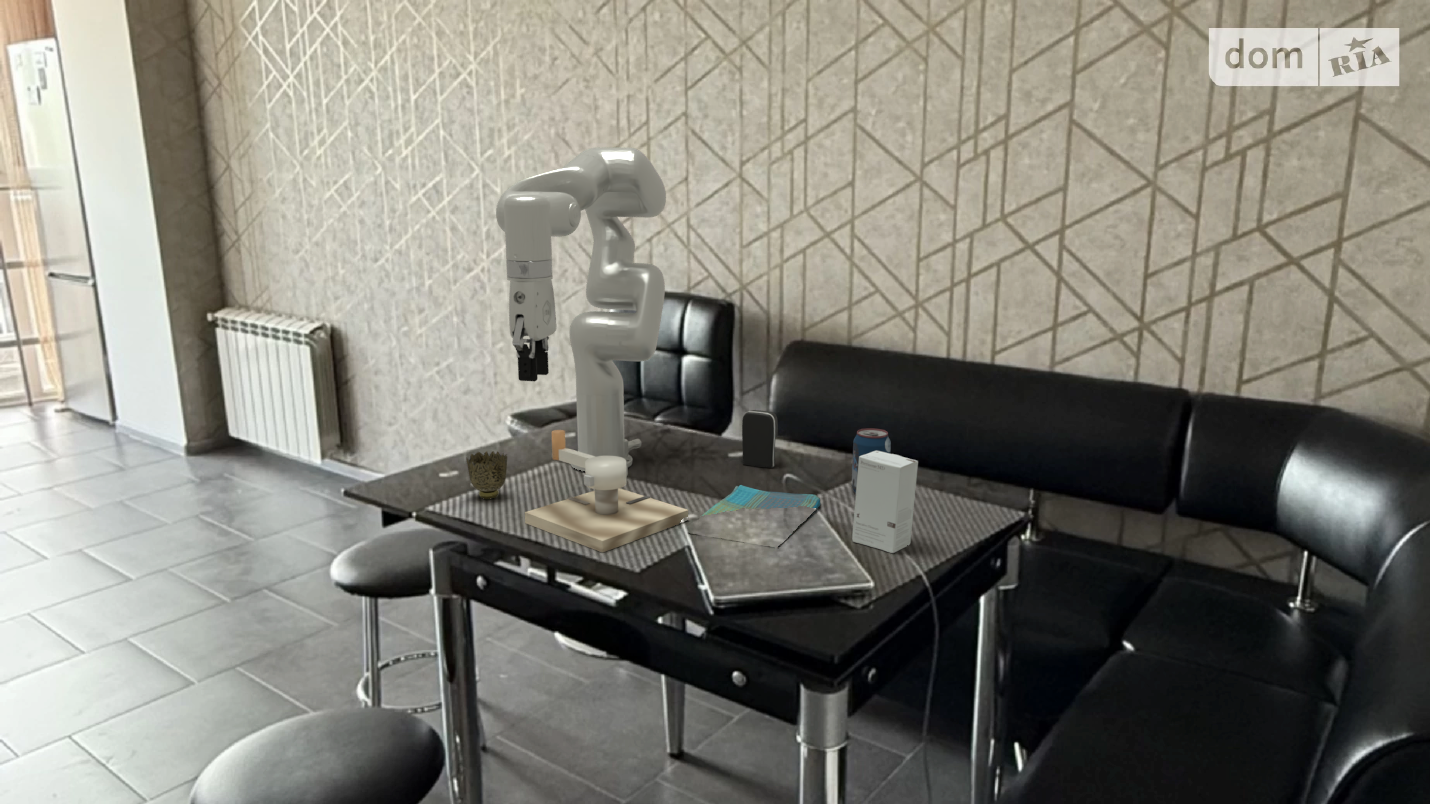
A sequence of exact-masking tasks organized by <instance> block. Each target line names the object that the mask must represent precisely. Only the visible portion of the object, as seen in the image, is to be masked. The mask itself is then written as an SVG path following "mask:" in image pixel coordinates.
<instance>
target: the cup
mask: <svg viewBox="0 0 1430 804" xmlns="http://www.w3.org/2000/svg"><path fill="white" fill-rule="evenodd" d="M465 459H466V464H467V465H466V466H467V470H468V476H469V480H470V483H471V485H472V486H473V487H472V488H474V489H475V490H477V491H478V495H479V497H480V499H482V498H484V499H483V500H491V499H490V498H494V499H496V498H498V496H499V493H500V491H499V489H501V488H502V487H503V486H504V484H505V482H506V478H507V467H508V453H506V454H505V452H502V454H501V453H500V452H499V451H498V450H497V451H496V452H495V451H494V450H492V451H491V452H490V453H489V451H488V450H486V451H485V452H484V454H483V453H482V452H480V451H477V452H475V453H474V454H473V453H470V454H469V458H468V457H466V458H465Z"/></svg>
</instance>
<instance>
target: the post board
mask: <svg viewBox="0 0 1430 804" xmlns="http://www.w3.org/2000/svg"><path fill="white" fill-rule="evenodd" d="M685 517H688V518H689V510H688V509H687V508H683V507H680V506H677V505H674V504H670V503H668V502H664V501H662V500H661V501H660V500H658V499H655V498H652V497H651V496H649V495H641V494H639V493H636V492H633V491H629V490H627V489H624V488H623V489H622V488H618V489H613V490H596V489H594V490H592V491H589V492H586V493H582V494H579V495H576V496H570V497H567V498H566V499H563V500H560V501H556V502H553V503H550V504H546V505H544V506H540V507H537V508H534V509H531V510H528V511H524V524H526V525H529V526H532V527H534V528H537V529H539V530H542V531H545V532H548V533H550V534H551V535H554V536H555V535H556V536H558V537H560V538H563V539H566V540H568V541H571V542H573V543H576V544H579V545H582V546H584V547H587V548H589V549H593V550H594V551H598V552H600V553H605V552H609V551H611V550H613V549H616V548H618V547H621V546H624V545H627V544H629V543H630V544H631V543H632V542H636V541H638V540H639V539H642V538H646V537H648V536H651V535H654V534H656V533H659V532H663V531H665V530H667V528H668V529H670V528H672V527H673V528H674V527H675V525H676V526H678V525H680V524H679V523H680V522H681V520H682V519H683V518H685Z"/></svg>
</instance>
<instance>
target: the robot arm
mask: <svg viewBox="0 0 1430 804" xmlns="http://www.w3.org/2000/svg"><path fill="white" fill-rule="evenodd" d="M666 203H667V193H666V188H665V184H664V182H663V179H662V177H661V176H660V174H659V172H658V171H657V170H656V168H655V166H654V165H653V163H652V162H651V160H650V159H649V158H648V156H646V154H644V152H642V151H641V150H639V149H637V148H634V147H591V148H588V149H585V150H583V151H582V152H580V153H578V155H576V156H575V157H573V159H571V160H570V161H569V162H568V163H566V164H565V165H564V166H562V167H560V168H557V169H553V170H549V171H546V172H543V173H540V174H537V175H533V176H530V177H527V178H523V179H522V180H518V181H517V182H515V183H514V184H512V185H511V186H509V188H507V189H506V190H505V191H504V192H503V193H502V195H501V196H500V197H499V200H498V201H497V204H496V209H495V216H496V218H495V219H496V222H497V224H498V226H499V228H500V229H501V231H503V232H504V236H505V237H504V238H505V257H506V260H505V262H506V264H505V265H506V279H507V281H510V282H509V294H508V295H509V296H508V297H509V298H508V300H509V301H508V302H509V303H508V319H509V321H508V322H509V332H510V337H511V338H512V341H511V342H512V346H513V347H514V348H515V351H516V358H517V372H518V373H517V375H518V381H521V382H536V381H538V379H539V378H538V376H547V375H549V352H548V351H549V342H548V341H549V340H550V337H549V336H552V335H553V334H555V332H556V331H557V315H556V312H557V311H556V303H555V301H556V300H555V293H554V287H553V286H554V285H553V279H554V277H553V254H552V253H553V251H552V249H553V248H552V237H557V238H558V237H559V238H560V237H566V236H570V235H571V234H573V233H574V232H575V231H576V230H577V228H578V227H579V225H580V223H581V220H582V219H581V218H582V211H584V210H585V214H586V216H587V219H588V223H589V226H590V230H591V232H592V239H593V242H592V243H593V245H592V252H591V257H590V261H589V262H590V263H589V268H588V274H587V280H586V287H585V296H586V299H587V302H588V303H589V304H590V305H591V306H592V307H594V308H598V309H604V310H615V311H597V310H596V311H593V310H592V311H585V312H582V313H580V314H578V315H576V316H575V317H574V318H573V320H572V321H571V323H570V326H569V340H570V348H571V351H572V356H573V357H572V358H573V363H574V371H575V388H576V389H575V390H576V391H575V394H576V396H575V397H576V425H577V426H576V427H577V428H576V429H577V451H579V452H582V453H585V454H589V455H592V456H596V457H597V456H618V457H622V458H624V459H625V460H626V466H627V469H629V468H630V467H631V466H632V465H633V457H632V456H631V455H630V454H629V453H630V452H631V451H632V450H635V449H638V448H641V447H642V441H641V439H640V438H636V439H632V440H628V439H627V438H625V405H624V404H625V401H624V399H625V398H624V397H625V396H624V392H625V391H624V379H623V376H622V374H621V372H620V370H619V368H618V367H617V365H616V364H615V362H614V361H622V362H623V361H624V362H625V361H626V362H645V361H646V362H647V361H649V360H650V359H651V358H653V356H654V355H655V353H656V350H657V345H658V339H659V335H660V327H661V323H662V316H663V315H662V314H663V309H664V303H665V294H666V293H665V292H666V286H665V285H666V284H665V277H664V275H663V272H662V270H661V269H660V268H659V267H658V266H657V265H654V264H652V263H645V262H643V263H642V262H634V257H635V256H634V255H635V249H636V244H635V241H634V238H633V237H632V235H631V233H630V232H629V230H628V229H627V228H626V226H625V225H624V224H623V223H622V221H621V220H620V219H619V218H645V219H646V218H656V217H657V216H659V215H660V214H661V213H662V212H663V211H664V209H665V206H666ZM616 310H617V312H616ZM622 310H623V311H635V312H618V311H622ZM524 337H529V338H524ZM528 344H529V346H528ZM570 466H571V467H572V469H574V468H575V469H574V470H576V469H577V471H579V470H581V471H580V472H583V471H585V468H583V467H579V466H576V465H573V464H570Z"/></svg>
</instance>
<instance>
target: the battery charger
mask: <svg viewBox="0 0 1430 804" xmlns="http://www.w3.org/2000/svg"><path fill="white" fill-rule="evenodd" d="M741 421H742V422H741V423H742V424H741V441H742V443H741V444H742V461H741V462H742V465H745V466H750V467H758V468H767V469H771V468H772V469H773V468H774V467H775V465H776V456H775V455H776V454H775V451H776V439H777V437H778V430H779V429H778V428H779V427H778V423H779V422H778V417H777V415H776V413H775V412H772V411H769V410H759V409H751V410H749V411H746V412H745V413H744V414H743V416H742V419H741Z"/></svg>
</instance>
